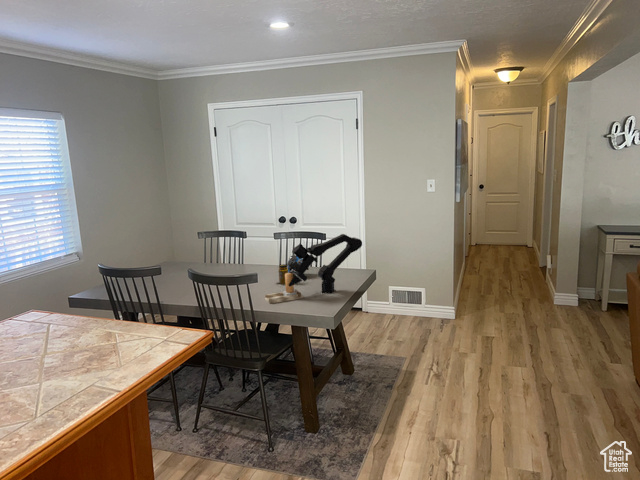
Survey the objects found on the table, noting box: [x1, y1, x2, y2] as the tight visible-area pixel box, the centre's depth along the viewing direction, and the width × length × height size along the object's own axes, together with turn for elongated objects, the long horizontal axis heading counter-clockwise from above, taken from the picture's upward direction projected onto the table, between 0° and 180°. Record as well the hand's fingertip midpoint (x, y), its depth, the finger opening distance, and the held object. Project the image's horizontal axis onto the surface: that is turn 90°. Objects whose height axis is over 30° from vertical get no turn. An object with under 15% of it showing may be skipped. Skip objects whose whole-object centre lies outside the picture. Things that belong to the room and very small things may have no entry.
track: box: [264, 289, 304, 304], centre depth 263 cm, size 20×9×3 cm, turn 111°
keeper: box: [282, 272, 297, 296], centre depth 263 cm, size 6×6×12 cm
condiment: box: [274, 263, 289, 287], centre depth 294 cm, size 7×8×12 cm
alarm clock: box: [287, 254, 303, 273], centre depth 310 cm, size 13×6×15 cm, turn 157°
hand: (287, 285), depth 263 cm, fingers closed on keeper, 4 cm apart
